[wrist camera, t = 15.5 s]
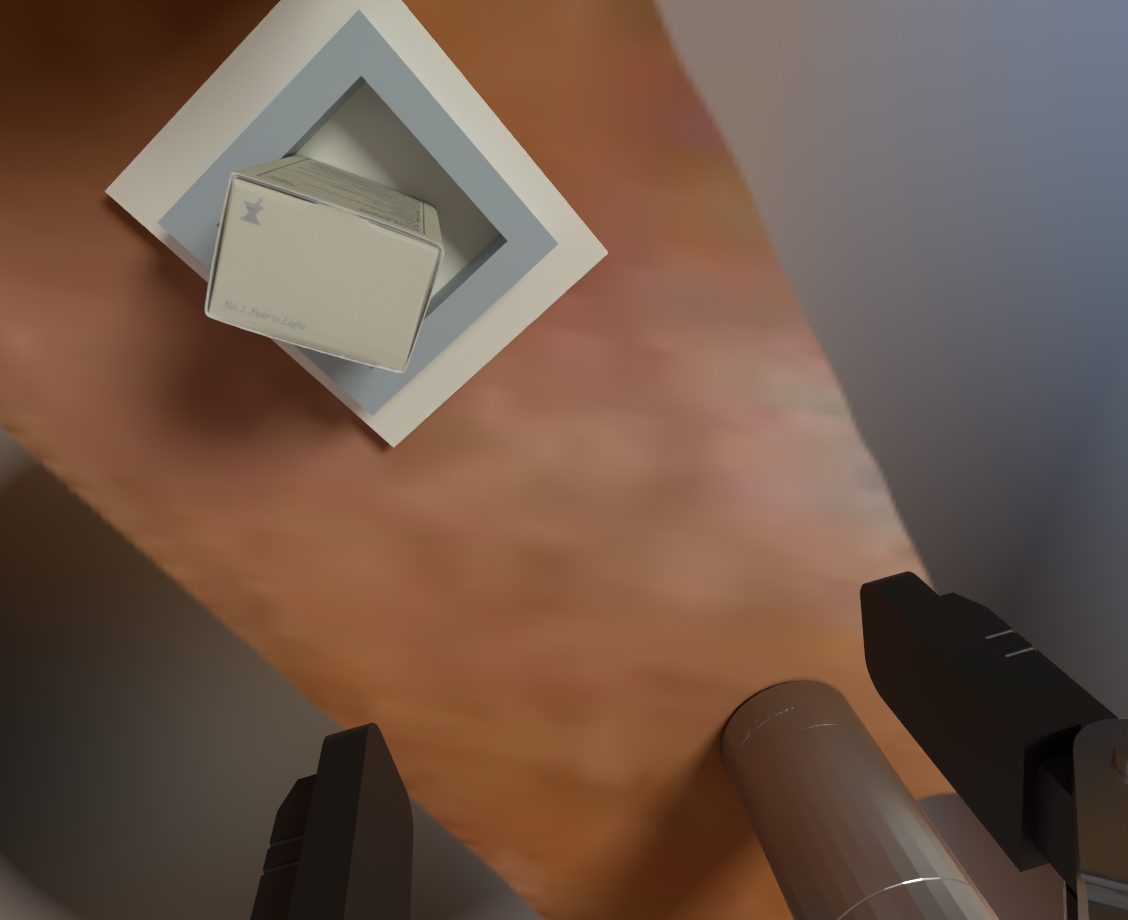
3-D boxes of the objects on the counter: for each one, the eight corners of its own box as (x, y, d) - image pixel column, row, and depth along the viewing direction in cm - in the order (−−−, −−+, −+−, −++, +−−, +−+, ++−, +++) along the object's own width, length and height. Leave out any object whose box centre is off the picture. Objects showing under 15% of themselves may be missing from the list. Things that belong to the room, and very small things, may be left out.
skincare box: (273, 250, 33) (190, 319, 22) (297, 147, 31) (221, 164, 20) (415, 298, 34) (404, 383, 23) (444, 202, 33) (447, 245, 22)
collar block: (604, 249, 36) (622, 264, 32) (394, 439, 38) (390, 473, 34) (347, -64, 29) (334, -89, 26) (114, 189, 32) (72, 198, 28)
